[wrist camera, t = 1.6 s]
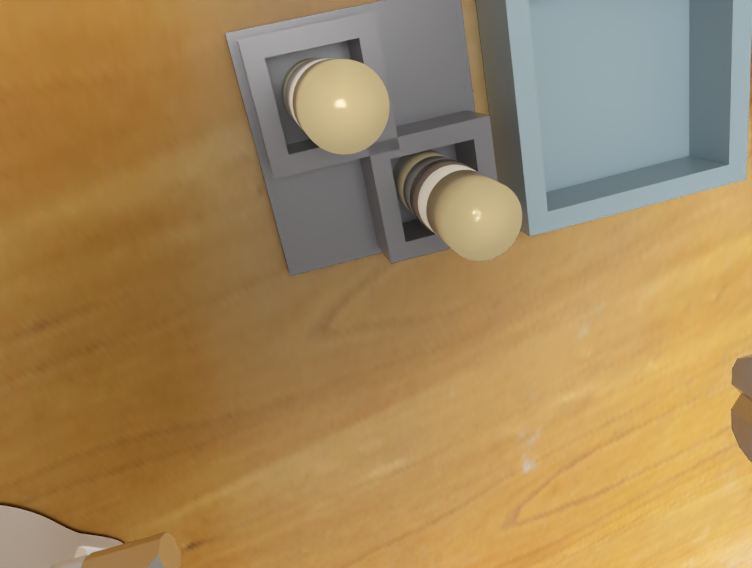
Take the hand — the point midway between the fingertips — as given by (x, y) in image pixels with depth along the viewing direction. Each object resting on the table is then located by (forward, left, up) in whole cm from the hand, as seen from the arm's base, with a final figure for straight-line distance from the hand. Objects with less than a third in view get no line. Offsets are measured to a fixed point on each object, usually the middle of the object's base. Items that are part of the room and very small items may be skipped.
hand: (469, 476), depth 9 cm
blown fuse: (-3, -7, -28) cm, 29 cm away
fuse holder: (0, -4, -29) cm, 29 cm away
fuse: (+3, -2, -28) cm, 28 cm away
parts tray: (0, -19, -29) cm, 35 cm away
